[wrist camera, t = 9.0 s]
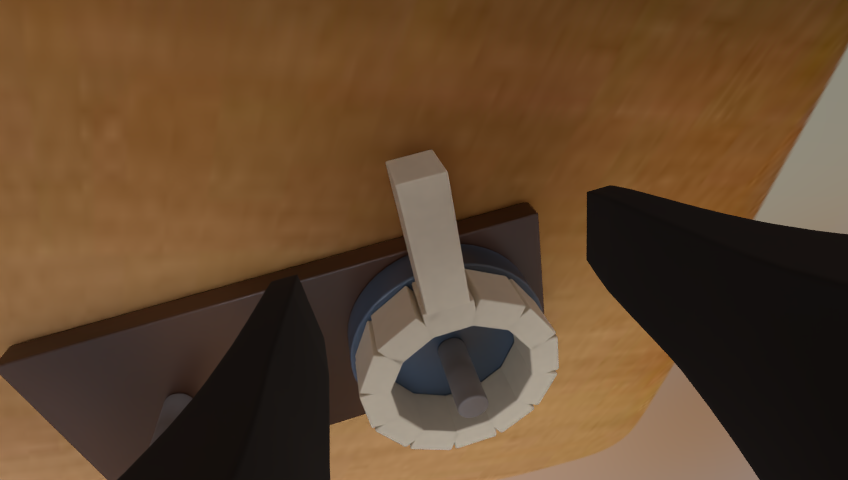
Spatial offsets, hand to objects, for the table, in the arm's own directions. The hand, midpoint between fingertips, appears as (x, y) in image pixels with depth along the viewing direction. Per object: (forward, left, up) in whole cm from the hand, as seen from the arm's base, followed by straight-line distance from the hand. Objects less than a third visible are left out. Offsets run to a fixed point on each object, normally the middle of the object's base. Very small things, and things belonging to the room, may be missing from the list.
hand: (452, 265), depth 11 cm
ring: (0, -5, -5) cm, 7 cm away
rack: (-6, -8, -8) cm, 13 cm away
